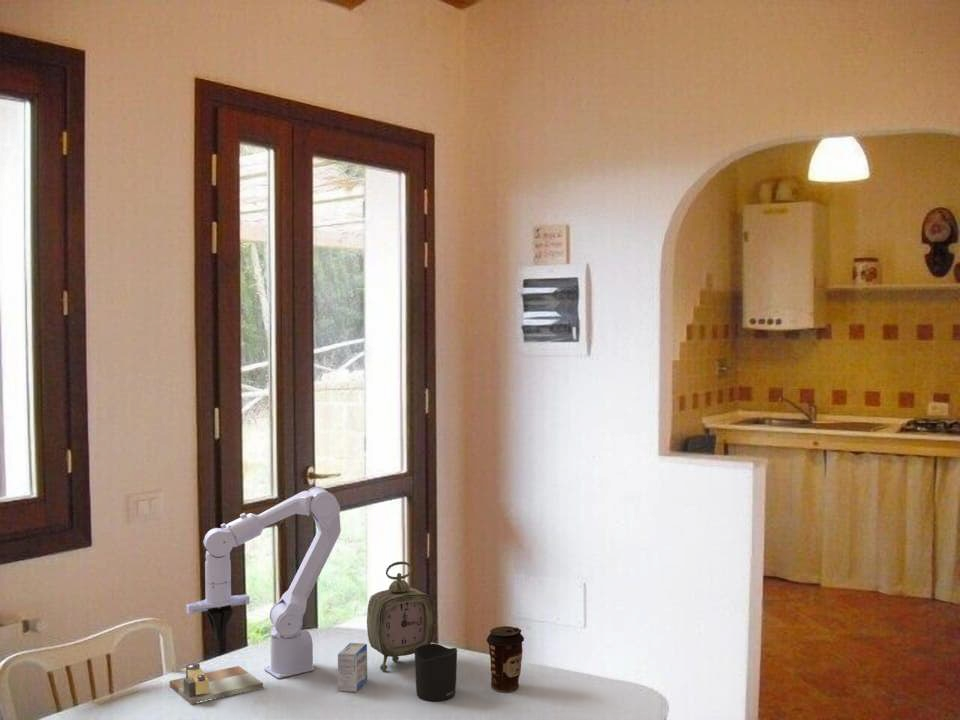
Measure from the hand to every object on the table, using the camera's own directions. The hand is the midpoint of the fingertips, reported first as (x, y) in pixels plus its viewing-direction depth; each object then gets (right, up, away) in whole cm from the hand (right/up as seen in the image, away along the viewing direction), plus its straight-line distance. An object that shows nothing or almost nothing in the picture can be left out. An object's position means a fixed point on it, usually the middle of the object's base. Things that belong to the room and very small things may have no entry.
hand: (218, 639), depth 220 cm
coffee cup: (+66, -10, -5) cm, 67 cm away
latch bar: (-3, -8, -8) cm, 12 cm away
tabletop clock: (+41, -9, +11) cm, 43 cm away
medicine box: (+32, -10, -4) cm, 33 cm away
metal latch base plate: (+1, -10, -4) cm, 10 cm away
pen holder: (+51, -10, -9) cm, 53 cm away
